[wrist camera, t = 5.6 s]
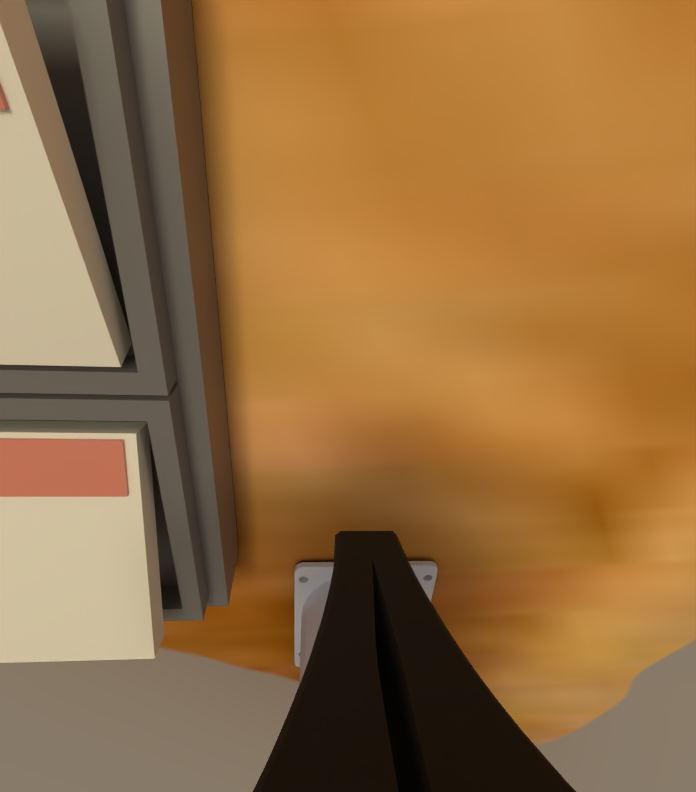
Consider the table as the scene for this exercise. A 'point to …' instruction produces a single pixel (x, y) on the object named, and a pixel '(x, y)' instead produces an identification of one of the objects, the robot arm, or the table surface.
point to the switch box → (146, 274)
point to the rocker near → (47, 224)
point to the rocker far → (78, 542)
